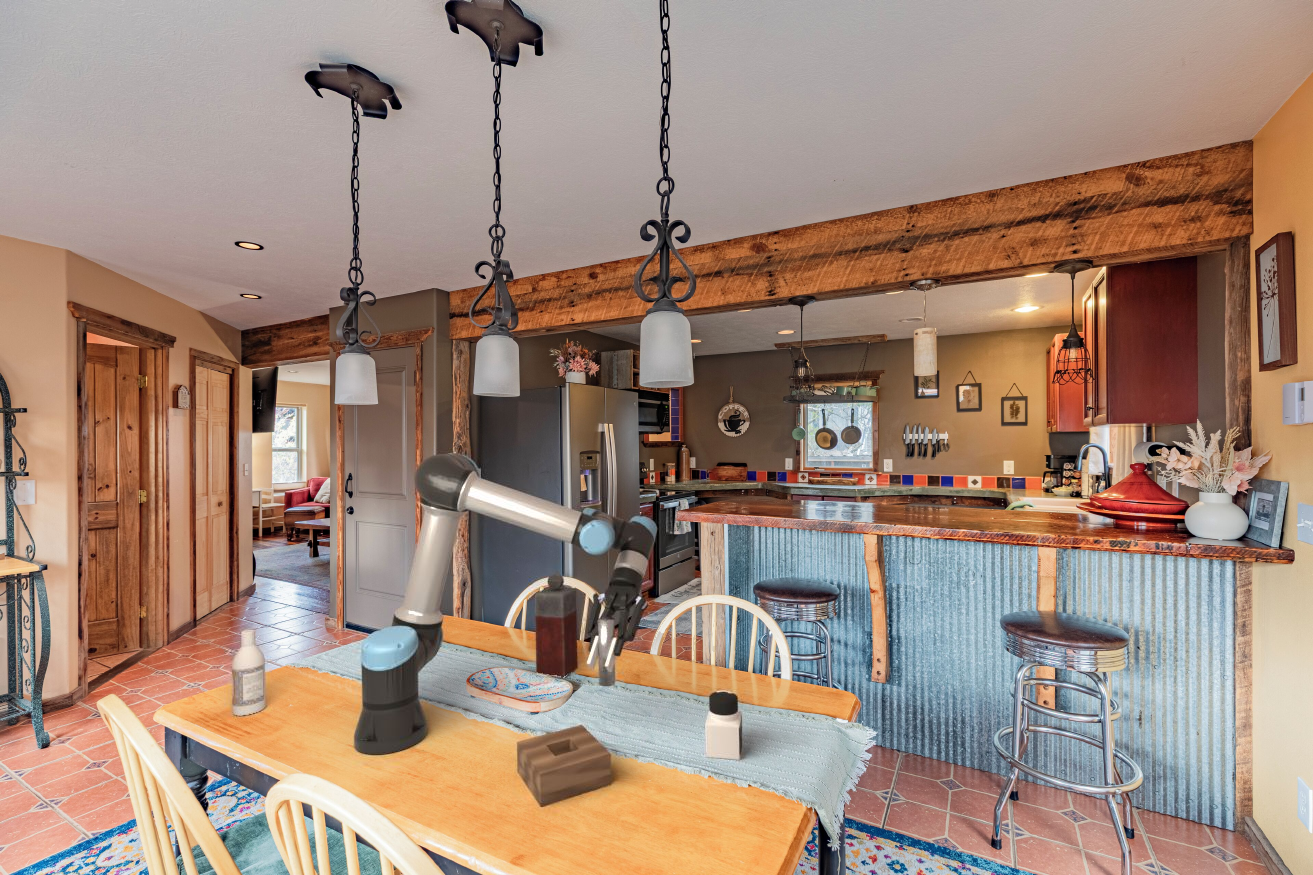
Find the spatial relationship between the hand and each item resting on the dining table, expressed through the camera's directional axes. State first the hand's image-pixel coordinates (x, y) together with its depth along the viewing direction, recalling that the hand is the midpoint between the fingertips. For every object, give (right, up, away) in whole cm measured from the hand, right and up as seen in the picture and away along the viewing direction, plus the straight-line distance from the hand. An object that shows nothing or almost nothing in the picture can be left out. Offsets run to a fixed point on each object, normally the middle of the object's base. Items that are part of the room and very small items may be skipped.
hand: (599, 667), depth 132 cm
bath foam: (-90, -19, +23) cm, 95 cm away
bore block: (-6, -17, -11) cm, 22 cm away
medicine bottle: (+27, -17, -2) cm, 32 cm away
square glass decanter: (-16, -18, +46) cm, 52 cm away
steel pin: (+1, -5, +4) cm, 6 cm away
